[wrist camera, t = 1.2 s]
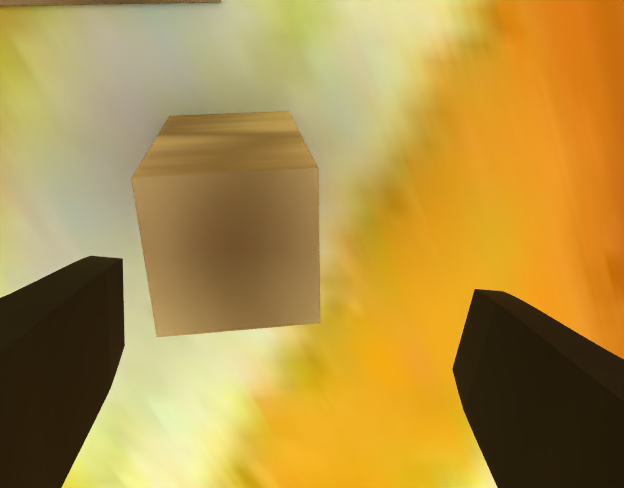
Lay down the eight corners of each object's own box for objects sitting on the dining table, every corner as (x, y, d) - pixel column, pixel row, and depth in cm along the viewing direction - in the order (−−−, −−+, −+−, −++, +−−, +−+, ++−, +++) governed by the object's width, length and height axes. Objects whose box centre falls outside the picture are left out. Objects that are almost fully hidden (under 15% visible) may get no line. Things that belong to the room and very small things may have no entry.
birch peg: (183, 226, 21) (156, 336, 14) (170, 115, 20) (131, 177, 12) (292, 219, 22) (320, 322, 15) (288, 111, 20) (318, 168, 13)
